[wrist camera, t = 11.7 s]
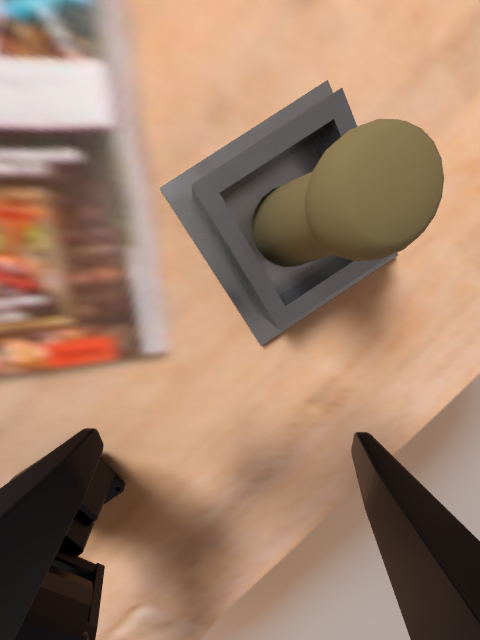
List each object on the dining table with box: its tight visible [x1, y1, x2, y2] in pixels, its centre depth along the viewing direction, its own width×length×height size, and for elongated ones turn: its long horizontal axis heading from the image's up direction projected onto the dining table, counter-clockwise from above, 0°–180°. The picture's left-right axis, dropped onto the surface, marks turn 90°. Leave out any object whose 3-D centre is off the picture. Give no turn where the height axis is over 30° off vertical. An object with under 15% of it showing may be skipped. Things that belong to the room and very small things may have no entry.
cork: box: [252, 119, 444, 267], centre depth 14 cm, size 6×6×11 cm
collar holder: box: [160, 80, 398, 346], centre depth 18 cm, size 14×14×4 cm
